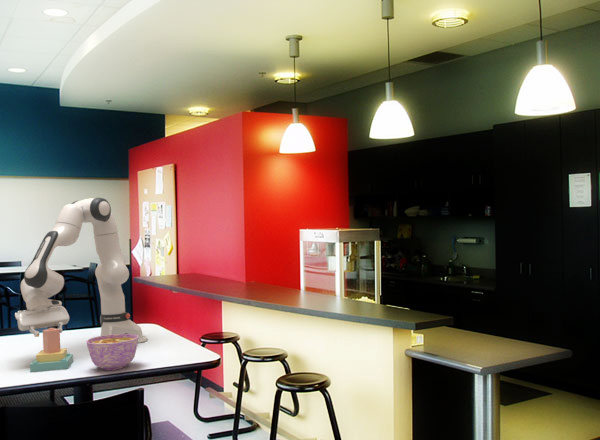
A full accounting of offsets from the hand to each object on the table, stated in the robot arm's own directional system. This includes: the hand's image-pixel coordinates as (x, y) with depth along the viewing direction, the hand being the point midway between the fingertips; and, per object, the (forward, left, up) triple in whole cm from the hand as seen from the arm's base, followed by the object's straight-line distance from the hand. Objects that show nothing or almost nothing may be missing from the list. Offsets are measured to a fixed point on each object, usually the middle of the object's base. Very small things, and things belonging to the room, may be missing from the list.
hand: (49, 334), depth 247 cm
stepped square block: (-1, +3, -13) cm, 13 cm away
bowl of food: (-26, +15, -13) cm, 33 cm away
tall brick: (-1, +3, -7) cm, 8 cm away
